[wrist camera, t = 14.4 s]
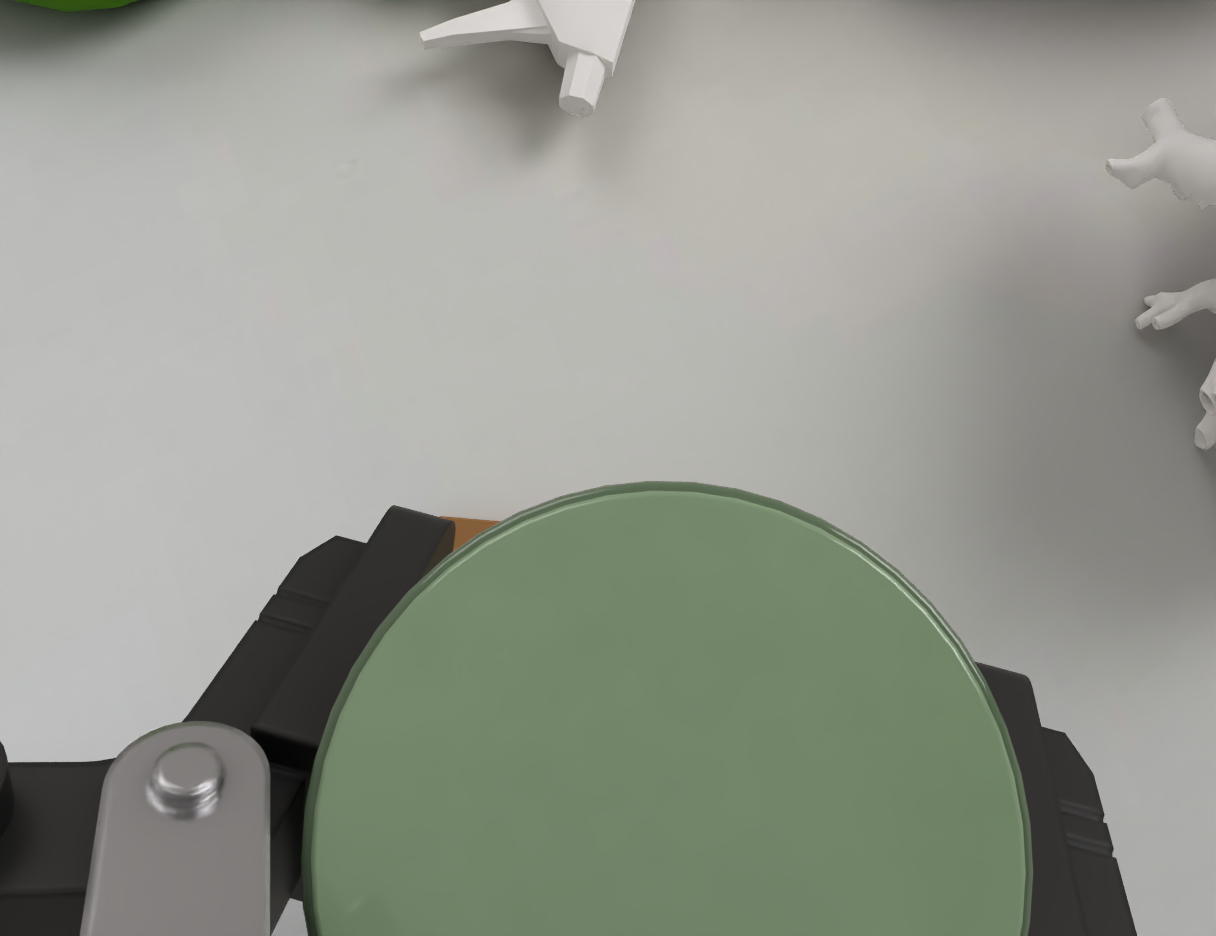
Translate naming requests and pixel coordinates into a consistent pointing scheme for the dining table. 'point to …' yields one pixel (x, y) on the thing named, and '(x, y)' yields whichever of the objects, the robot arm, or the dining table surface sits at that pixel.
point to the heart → (1193, 173)
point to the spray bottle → (515, 36)
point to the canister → (665, 739)
